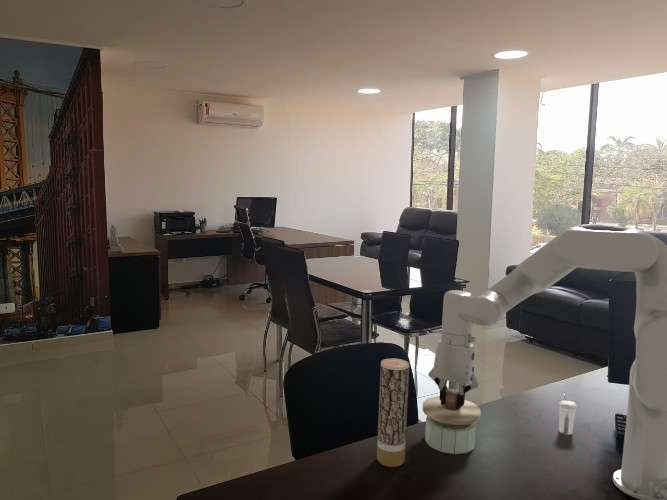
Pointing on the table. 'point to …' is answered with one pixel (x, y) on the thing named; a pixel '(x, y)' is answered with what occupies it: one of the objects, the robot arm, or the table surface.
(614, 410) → the table surface
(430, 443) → the bowl
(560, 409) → the milkshake
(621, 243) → the robot arm
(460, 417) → the lid
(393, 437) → the log-textured cylinder
